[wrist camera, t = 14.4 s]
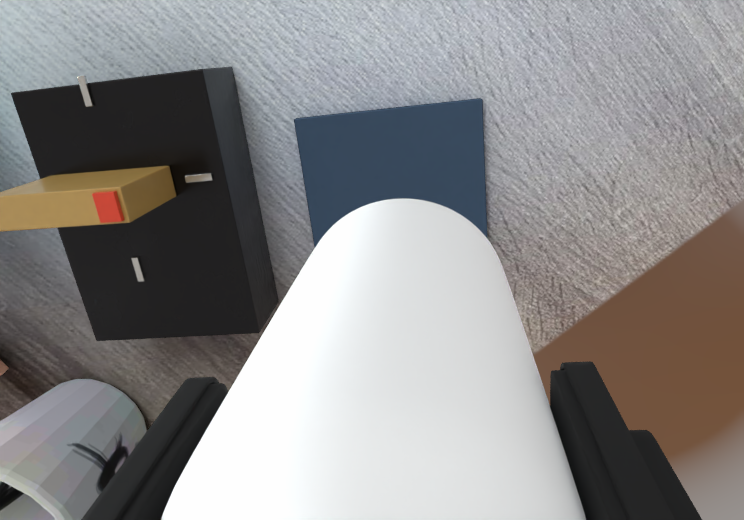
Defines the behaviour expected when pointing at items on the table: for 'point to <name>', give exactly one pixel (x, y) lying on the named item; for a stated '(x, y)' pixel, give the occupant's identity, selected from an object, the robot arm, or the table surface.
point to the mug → (65, 450)
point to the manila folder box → (85, 198)
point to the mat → (394, 160)
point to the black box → (173, 218)
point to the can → (387, 390)
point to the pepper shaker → (3, 368)
